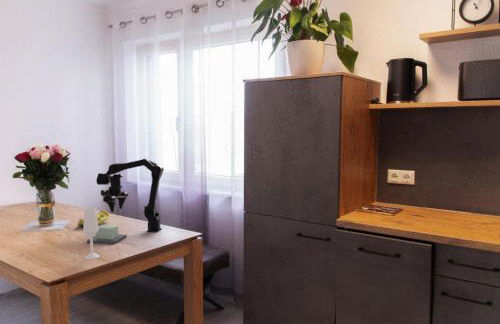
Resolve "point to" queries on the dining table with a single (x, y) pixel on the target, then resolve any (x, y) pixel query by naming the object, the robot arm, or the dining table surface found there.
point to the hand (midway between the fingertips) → (116, 210)
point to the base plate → (108, 240)
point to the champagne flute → (90, 228)
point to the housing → (107, 232)
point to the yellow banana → (101, 218)
